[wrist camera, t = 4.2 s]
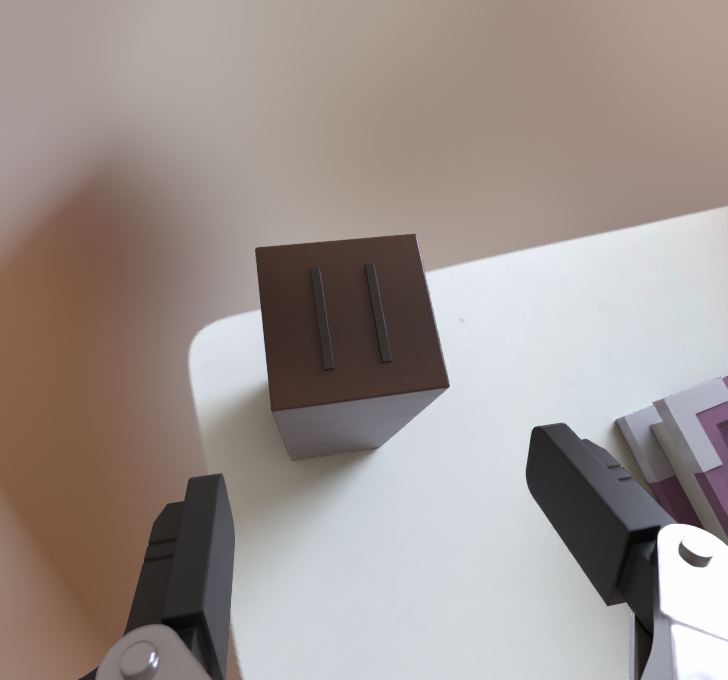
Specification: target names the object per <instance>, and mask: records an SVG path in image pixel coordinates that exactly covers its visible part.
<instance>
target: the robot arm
mask: <svg viewBox="0 0 728 680" xmlns="http://www.w3.org/2000/svg"><path fill="white" fill-rule="evenodd" d="M526 480H527V485H528V488H529V490H530V493H531V495H532V496H533V498H534V499H535V501H536V502H537V504H538V505H539V507H540V508H541V509H542V511H543V512H544V514H545V515H546V517H547V518H548V520H549V521H550V523H551V524H552V526H553V527H554V529H555V530H556V531H557V533H558V534H559V536H560V537H561V539H562V540H563V542H564V543H565V545H566V546H567V548H568V549H569V551H570V552H571V553H572V555H573V556H574V558H575V559H576V561H577V562H578V564H579V565H580V567H581V568H582V570H583V571H584V573H585V574H586V575H587V577H588V578H589V580H590V581H591V583H592V584H593V586H594V587H595V589H596V590H597V592H598V593H599V595H600V596H601V597H602V599H603V600H604V602H605V603H606V605H607V606H611V605H616V604H621V603H625V602H627V604H628V605H629V607H630V608H631V609H632V611H633V612H632V615H631V619H630V669H629V680H728V547H727V546H726V545H725V544H724V543H723V542H722V541H721V540H719V539H718V538H717V537H715V536H714V535H712V534H710V533H708V532H706V531H704V530H702V529H700V528H697V527H694V526H689V525H684V524H678V523H677V522H676V521H675V520H674V519H673V518H672V517H671V516H670V515H669V514H668V513H667V512H666V511H665V510H664V509H663V508H662V507H661V506H660V505H659V504H658V503H657V502H656V501H655V500H654V499H653V498H652V497H651V496H650V495H649V494H648V493H647V492H646V491H645V490H644V488H643V487H642V486H641V485H640V484H639V483H638V482H637V481H636V480H635V479H634V480H633V479H632V476H631V475H630V474H629V473H628V472H627V471H626V470H625V469H624V468H621V467H620V464H619V463H618V462H617V461H616V460H615V459H614V458H613V457H612V456H611V455H610V454H609V453H608V452H607V451H606V450H605V449H603V448H601V447H599V446H598V445H596V444H594V443H593V442H591V441H589V440H587V439H583V440H581V439H580V438H579V437H578V436H577V435H576V434H575V433H574V432H573V431H572V430H571V429H570V428H569V427H568V426H567V425H566V424H565V423H557V424H550V425H543V426H537V427H534V428H533V430H532V433H531V439H530V446H529V453H528V460H527V466H526ZM234 548H235V534H234V523H233V517H232V513H231V508H230V503H229V499H228V494H227V490H226V485H225V480H224V477H223V474H222V473H219V474H212V475H206V476H199V477H193V478H190V479H189V481H188V486H187V491H186V496H185V501H183V502H177V503H170V504H167V505H166V507H165V508H164V510H163V511H162V512H161V514H160V515H159V516H158V518H157V519H156V520H155V522H154V524H153V528H152V531H151V535H150V539H149V546H148V547H147V551H146V554H145V558H144V563H143V565H142V570H141V573H140V577H139V581H138V585H137V588H136V592H135V596H134V600H133V603H132V607H131V611H130V615H129V618H128V622H127V626H126V629H125V632H124V634H123V637H121V638H120V639H119V640H118V641H117V642H116V643H115V644H114V645H113V646H112V647H111V648H110V649H109V650H108V652H107V653H106V654H105V656H104V657H103V659H102V661H101V663H100V665H99V666H98V667H97V668H96V669H94V670H93V671H92V672H90V673H89V674H87V675H85V676H84V677H82V678H80V679H79V680H226V666H227V651H228V637H229V622H230V607H231V592H232V578H233V563H234Z"/></svg>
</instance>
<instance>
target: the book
mask: <svg viewBox="0 0 728 680" xmlns="http://www.w3.org/2000/svg"><path fill="white" fill-rule="evenodd" d="M652 403H653V404H654V405H652V406H650V407H647V408H645V409H642V410H639V411H637V412H634V413H632V414H629V415H626V416H624V417H621V418H619V419H616V421H617V423H618V425H619V427H620V429H621V431H622V433H623V435H624V437H625V439H626V441H627V443H628V445H629V447H630V449H631V451H632V453H633V455H634V457H635V459H636V461H637V463H638V465H639V467H640V469H641V471H642V473H643V475H644V477H645V479H646V481H647V483H650V485H651V487H652V489H653V491H654V493H655V495H656V497H657V499H658V501H659V503H660V505H661V507H662V508H663V509H664V510H665V511H666V512H667V513H668V514H669V515H670V516H671V517H672V518H673V519H674V520H675V521H676V522H677V523H678V524H684V525H689V526H694V527H697V528H700V529H702V530H704V531H706V532H708V533H710V534H712V535H714V536H715V537H717V538H718V539H719V540H721V541H722V542H723V543H724V544H725V545H726V546H727V547H728V376H726V377H724V378H721V377H719V378H716V379H713V380H710V381H707V382H704V383H702V384H699V385H696V386H694V387H691V388H689V389H686V390H683V391H681V392H678V393H676V394H673V395H670V396H668V397H665V398H663V399H660V400H657V401H655V402H652Z"/></svg>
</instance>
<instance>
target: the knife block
mask: <svg viewBox="0 0 728 680" xmlns="http://www.w3.org/2000/svg"><path fill="white" fill-rule="evenodd" d="M255 253H256V262H257V273H258V283H259V292H260V303H261V313H262V323H263V332H264V342H265V352H266V362H267V372H268V382H269V392H270V402H271V410H272V413H273V415H274V418H275V420H276V423H277V425H278V427H279V430H280V432H281V435H282V437H283V440H284V442H285V445H286V447H287V449H288V452H289V454H290V457H291V459H292V461H295V460H301V459H308V458H314V457H321V456H327V455H334V454H340V453H347V452H353V451H360V450H366V449H373V448H379V447H381V446H382V445H383V444H384V443H386V442H387V441H388V440H389V439H390V438H391V437H393V436H394V435H395V434H396V433H397V432H398V431H399V430H401V429H402V428H403V427H404V426H405V425H406V424H407V423H409V422H410V421H411V420H412V419H413V418H414V417H416V416H417V415H418V414H419V413H420V412H421V411H422V410H424V409H425V408H426V407H427V406H428V405H429V404H431V403H432V402H433V401H434V400H435V399H436V398H437V397H439V396H440V395H441V394H442V393H443V392H444V391H446V390H447V389H448V388H449V386H450V385H449V380H448V375H447V371H446V366H445V362H444V357H443V353H442V348H441V344H440V339H439V335H438V330H437V325H436V321H435V316H434V312H433V307H432V303H431V298H430V294H429V289H428V285H427V280H426V276H425V271H424V266H423V262H422V257H421V253H420V248H419V244H418V239H417V235H416V234H407V235H395V236H383V237H372V238H361V239H349V240H338V241H326V242H315V243H304V244H292V245H280V246H269V247H257V248H256V249H255Z"/></svg>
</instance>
